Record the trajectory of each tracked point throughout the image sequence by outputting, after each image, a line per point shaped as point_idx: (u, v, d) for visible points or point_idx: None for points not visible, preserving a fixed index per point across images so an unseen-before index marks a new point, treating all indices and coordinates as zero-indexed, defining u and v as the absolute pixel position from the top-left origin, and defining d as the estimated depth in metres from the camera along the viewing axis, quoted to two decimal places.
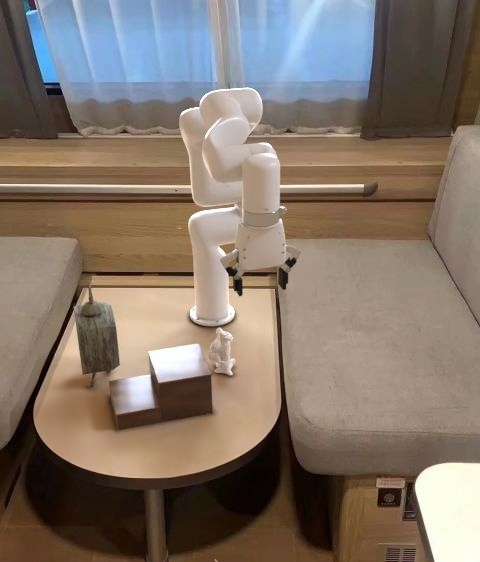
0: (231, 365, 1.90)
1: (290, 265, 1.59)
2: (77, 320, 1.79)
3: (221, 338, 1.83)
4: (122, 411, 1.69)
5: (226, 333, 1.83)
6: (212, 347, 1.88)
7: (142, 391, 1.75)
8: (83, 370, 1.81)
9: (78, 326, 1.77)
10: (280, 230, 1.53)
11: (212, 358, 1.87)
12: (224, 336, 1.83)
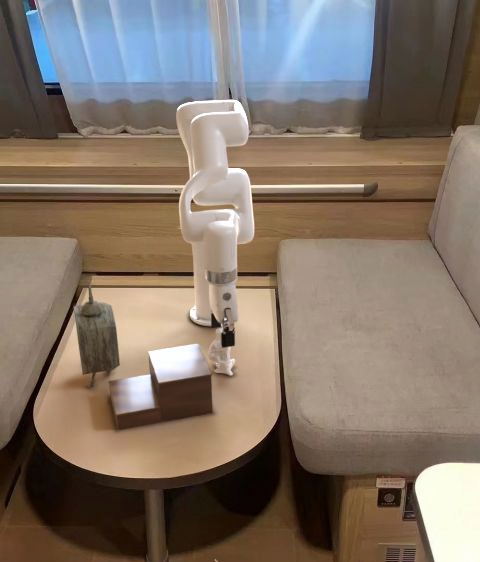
0: (231, 365, 1.90)
1: (226, 330, 1.77)
2: (77, 320, 1.79)
3: None
4: (122, 411, 1.69)
5: None
6: (212, 347, 1.88)
7: (142, 391, 1.75)
8: (83, 370, 1.81)
9: (78, 326, 1.77)
10: (216, 291, 1.75)
11: (212, 358, 1.87)
12: None
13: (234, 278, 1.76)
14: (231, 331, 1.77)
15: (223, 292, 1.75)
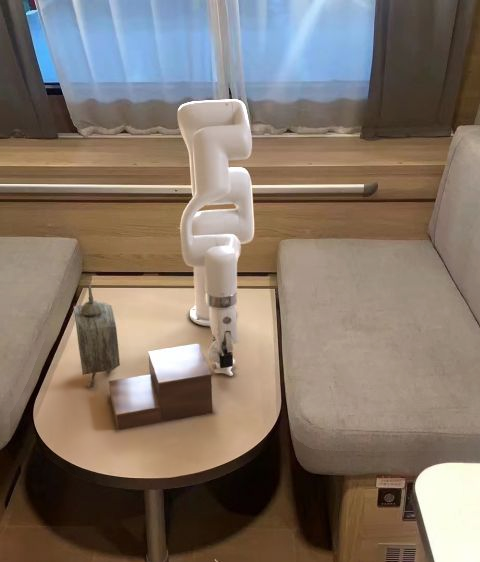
0: None
1: (224, 352, 1.83)
2: (77, 320, 1.79)
3: None
4: (122, 411, 1.69)
5: None
6: (212, 347, 1.88)
7: (142, 391, 1.75)
8: (83, 370, 1.81)
9: (78, 326, 1.77)
10: (216, 315, 1.79)
11: (212, 358, 1.87)
12: None
13: (234, 302, 1.79)
14: (229, 353, 1.82)
15: (223, 316, 1.78)
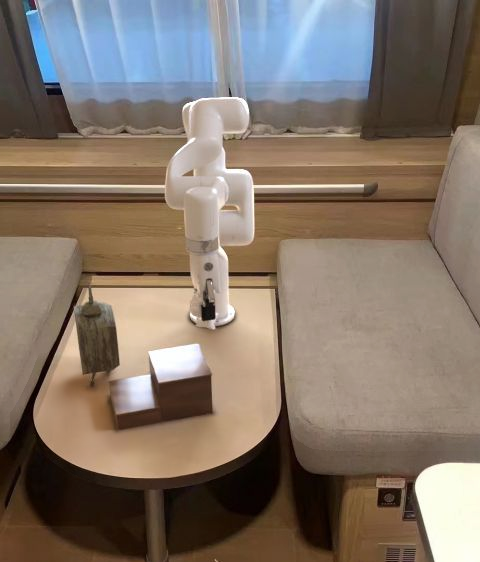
0: (214, 319, 1.77)
1: (206, 302, 1.70)
2: (77, 320, 1.79)
3: None
4: (122, 411, 1.69)
5: None
6: (193, 299, 1.75)
7: (142, 391, 1.75)
8: (83, 370, 1.81)
9: (78, 326, 1.77)
10: (197, 261, 1.66)
11: (193, 311, 1.74)
12: None
13: (216, 247, 1.67)
14: (211, 303, 1.70)
15: (204, 262, 1.66)
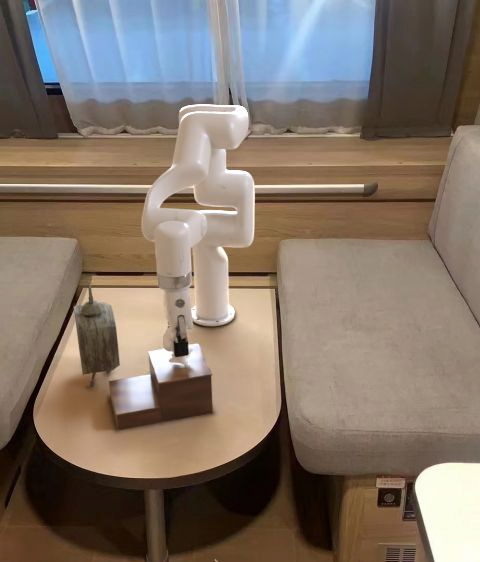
0: None
1: (178, 339, 1.65)
2: (77, 320, 1.79)
3: None
4: (122, 411, 1.69)
5: None
6: (166, 334, 1.70)
7: (142, 391, 1.75)
8: (83, 370, 1.81)
9: (78, 326, 1.77)
10: (168, 297, 1.62)
11: (166, 346, 1.70)
12: None
13: (188, 283, 1.62)
14: (184, 340, 1.65)
15: (176, 298, 1.61)
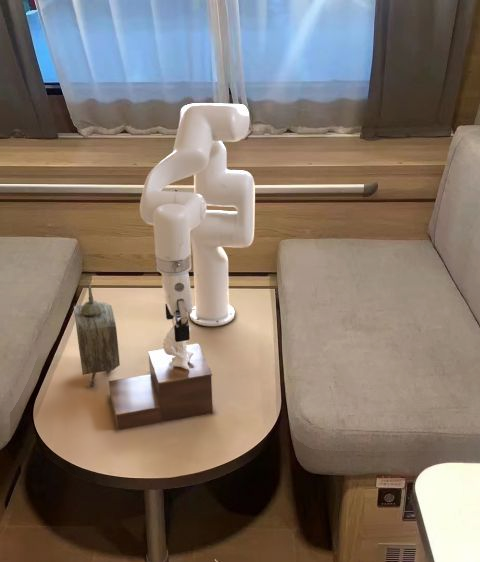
0: (188, 359, 1.73)
1: (179, 323, 1.62)
2: (77, 320, 1.79)
3: None
4: (122, 411, 1.69)
5: None
6: (167, 338, 1.71)
7: (142, 391, 1.75)
8: (83, 370, 1.81)
9: (78, 326, 1.77)
10: (167, 281, 1.60)
11: (167, 349, 1.70)
12: None
13: (187, 267, 1.60)
14: (184, 324, 1.62)
15: (175, 282, 1.59)
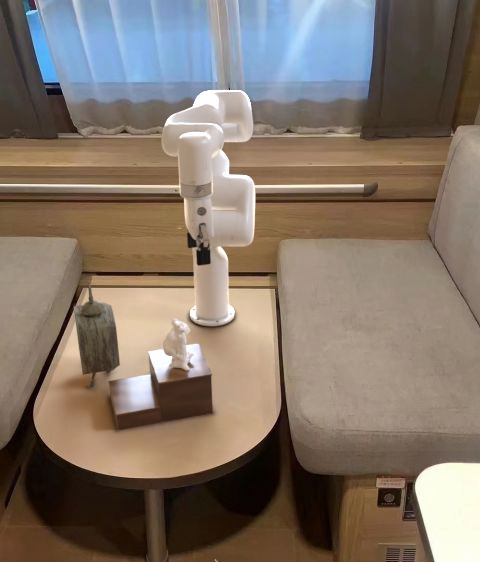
0: (188, 359, 1.73)
1: (201, 246, 1.72)
2: (77, 320, 1.79)
3: (175, 329, 1.66)
4: (122, 411, 1.69)
5: (181, 324, 1.66)
6: (167, 339, 1.71)
7: (142, 391, 1.75)
8: (83, 370, 1.81)
9: (78, 326, 1.77)
10: (190, 206, 1.70)
11: (166, 351, 1.70)
12: (178, 327, 1.66)
13: (209, 192, 1.70)
14: (206, 247, 1.71)
15: (198, 206, 1.69)
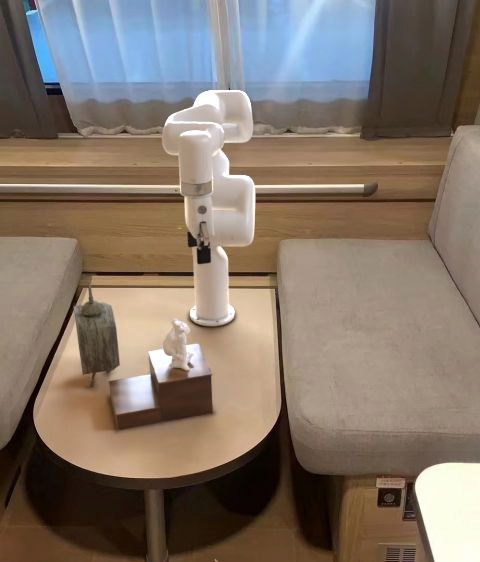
0: (188, 359, 1.73)
1: (201, 245, 1.72)
2: (77, 320, 1.79)
3: (175, 329, 1.66)
4: (122, 411, 1.69)
5: (181, 324, 1.66)
6: (167, 339, 1.71)
7: (142, 391, 1.75)
8: (83, 370, 1.81)
9: (78, 326, 1.77)
10: (191, 204, 1.70)
11: (166, 351, 1.70)
12: (178, 327, 1.66)
13: (210, 191, 1.70)
14: (207, 246, 1.71)
15: (198, 205, 1.69)
